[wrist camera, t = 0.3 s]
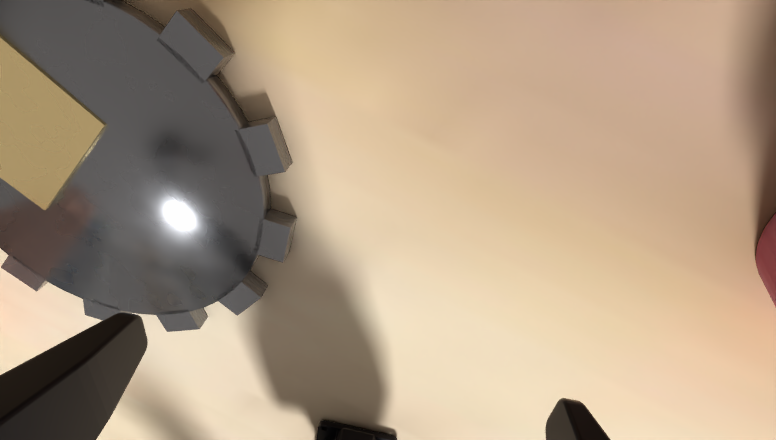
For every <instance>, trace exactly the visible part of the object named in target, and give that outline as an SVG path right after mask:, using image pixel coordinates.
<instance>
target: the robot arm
mask: <svg viewBox="0 0 776 440" xmlns="http://www.w3.org/2000/svg"><path fill="white" fill-rule="evenodd" d="M146 348H147V336H146V333H145V329H144V325H143V321H142V318H141V317H140V316H139V315H135V314H130V313H125V312H120V313H117V314H115V315H113V316H111V317H109V318H107V319H105V320H103V321H102V322H100V323H98V324H96V325H94V326H92V327H90V328H88V329H86V330H85V331H83V332H81V333H79V334H77V335H75V336H73V337H71V338H69V339H68V340H66V341H64V342H62V343H60V344H58V345H56V346H54V347H53V348H51V349H49V350H47V351H45V352H43V353H41V354H39V355H37V356H36V357H34V358H32V359H30V360H28V361H26V362H24V363H22V364H20V365H19V366H17V367H15V368H13V369H11V370H9V371H7V372H5V373H4V374H2V375H0V440H96V439H97V437H98V436H99V434H100V433H101V431H102V430H103V428H104V426H105V425H106V423H107V422H108V420H109V419H110V417H111V415H112V413H113V411H114V410H115V408H116V406H117V404H118V402H119V400H120V398H121V397H122V395H123V393H124V391H125V389H126V387H127V385H128V383H129V381H130V380H131V378H132V376H133V374H134V372H135V370H136V368H137V366H138V364H139V363H140V361H141V359H142V357H143V355H144V353H145V351H146ZM316 440H397V438H396V437H395V436H392V435H387V434H383V433H378V432H374V431H370V430H365V429H361V428H356V427H352V426H348V425H343V424H339V423H334V422H330V421H325V420H323V421H320V423H319V427H318V432H317V439H316ZM546 440H610V438H609V437H608V436H607V434H606V433H605V432H604V430H603V429H602V428H601V426H600V425H599V424H598V422H597V421H596V420H595V418H594V417H593V416H592V414H591V413H590V412H589V410H588V409H587V408H586V406H585V405H584V404H583V403H581V402H580V401H576V400H571V399H566V398H562V399H560V400H559V401H558V402H557V404H556V406H555V407H554V409H553V411H552V413H551V414H550V416H549V418H548V420H547V423H546Z"/></svg>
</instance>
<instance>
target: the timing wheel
mask: <svg viewBox="0 0 776 440" xmlns="http://www.w3.org/2000/svg"><path fill="white" fill-rule="evenodd" d="M234 54H235V52H234V51H233V50H232V49H231V48H230V47H229V46H228V45H227V44H226V43H225V42H224V41H223V40H222V39H221V38H220V37H219V36H218V35H217V34H216V33H215V32H214V31H213V30H212V29H211V28H210V27H209V26H208V25H207V24H206V23H205V22H204V21H203V20H202V19H201V18H200V17H199V16H198V15H197V14H196V13H195V12H194V11H193V10H192V9H185V10H178V11H176V13H175V14H174V15H173V17H172V18H171V20H170V21H169V23H168V24H167V26H166V27H164V26H163V25H161V24H160V23H158V22H157V21H156V20H154V19H153V18H151V17H150V16H149V15H147V14H145V13H143V12H142V11H140V10H138V9H136V8H134V7H133V6H131V5H129V4H127V3H126V2H124V1H122V0H0V248H1V249H2V250H3V251H4V252H6V253H7V254H8V255H9V256H8V257H7V259H6V260H5V262H4V263H3V265H2V266H1V268H3V269H4V270H6V271H7V272H9V273H10V274H12V275H13V276H15V277H16V278H18V279H19V280H21V281H22V282H24V283H25V284H27V285H28V286H29V287H31V288H32V289H34V290H35V291H38V290H39V289H40V288H41V287H43V286H44V285H45V284H47V283H48V282H49V283H51V284H53V285H55V286H57V287H59V288H60V289H62V290H64V291H66V292H69V293H71V294H73V295H75V296H78V297H80V298H82V299H83V302H84V310H85V315H87V316H91V317H94V318H97V319H100V320H105V319H107V318H109V317H111V316H113V315H115V314H117V313H120V312H125V313H130V314H132V313H138V314H151V315H157V317H158V318H159V320H160V322H161V323H162V325H163V326H164V328H165V329H166V331H167V332H170V331H182V330H194V329H200V327H201V326H202V325H203V323H204V322H205V320H206V319H207V317H208V316H207V314H206V313H205V311H204V309H203V308H204V307H206V306H208V305H210V304H213V303H215V302H217V301H219V302H220V303H222V304H223V305H224V306H225V307H227V308H228V309H229V310H231V311H232V312H233V313H235V314H236V315H239V314H240V313H241V312H243V311H244V310H245V309H247V308H248V307H249V306H251V305H252V304H253V303H254V302H256V301H257V300H258V299H260V298H261V297H262V295H263V293H264V291H265V290H266V288H267V286H268V285H267V284H266V283H264V282H263V281H262V280H261V279H259V278H258V277H257V276H256V275H255V274H253V273H252V272H251V271H250V269H251V267H252V266H253V264H254V263H255V261H256V260H257V258H258V257H259V255H261V256H264V257H267V258H270V259H273V260H276V261H280V262H284V260H285V258H286V256H287V255H288V253H289V251H290V247H291V242H292V238H293V233H294V229H295V224H296V220H297V217H295V216H292V215H289V214H286V213H283V212H280V211H277V210H274V209H271V196H270V185H269V180H268V175H269V174H275V173H281V172H285V171H286V170H287V169H288V168H289V166H290V165H291V164H292V160H291V157H290V155H289V152H288V149H287V146H286V143H285V141H284V138H283V135H282V132H281V129H280V127H279V124H278V121H277V118H276V117H271V118H266V119H261V120H256V121H251V122H248V121H247V119H246V117H245V116H244V114H243V112H242V111H241V109H240V107H239V106H238V104H237V102H236V101H235V99H234V98H233V96H232V95H231V94H230V92H229V91H228V90H227V88H226V87H225V86H224V84H223V83H222V82H221V80H220V79H219V78H218V76H217V75H218V73H219V72H220V71H221V70H222V69H223V67H224V66H225V65H226V64H227V62H228V61H229V60H230V59H231V57H232V56H233V55H234Z"/></svg>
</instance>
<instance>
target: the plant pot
mask: <svg viewBox="0 0 776 440" xmlns="http://www.w3.org/2000/svg"><path fill="white" fill-rule="evenodd" d="M756 264H757V269H758V272H759V275H760V277H761V279H762V281H763V283H764V285H765V287H766V289H767V291H768V293H769V295H770V297H771V299H772V301H773V302H774V304H775V306H776V213H775V214H774V216H773V217H772V218H771V220H770V221H769V222H768V224H767V225H766V227H765V228H764V230H763V233H762V235H761V237H760V239H759V242H758V245H757V250H756Z"/></svg>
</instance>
